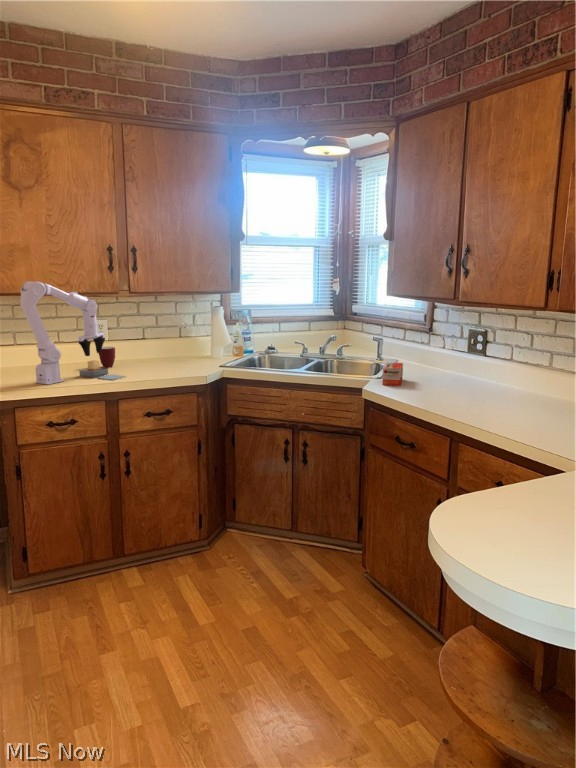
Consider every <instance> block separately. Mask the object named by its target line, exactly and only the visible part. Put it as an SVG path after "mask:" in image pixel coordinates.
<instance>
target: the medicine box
mask: <svg viewBox="0 0 576 768" xmlns="http://www.w3.org/2000/svg"><path fill="white" fill-rule="evenodd" d="M403 371H404V363H403V362H386V361H385V362H384V364H383V366H382V382H381V383H382V386H395V387H400V386H401V385H402V382H403V375H404V373H403Z"/></svg>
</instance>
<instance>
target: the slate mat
mask: <svg viewBox="0 0 576 768" xmlns="http://www.w3.org/2000/svg"><path fill="white" fill-rule="evenodd" d="M125 376H126V375H119V374H113V373H112V374H108V375H106V376H102V377H97V378H96V379H97V380H105V379H106V380H105V381H115V380H114V379H116V380H119V379H118V378H120V379H122V378H121V377H124V378H126V377H125Z"/></svg>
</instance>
